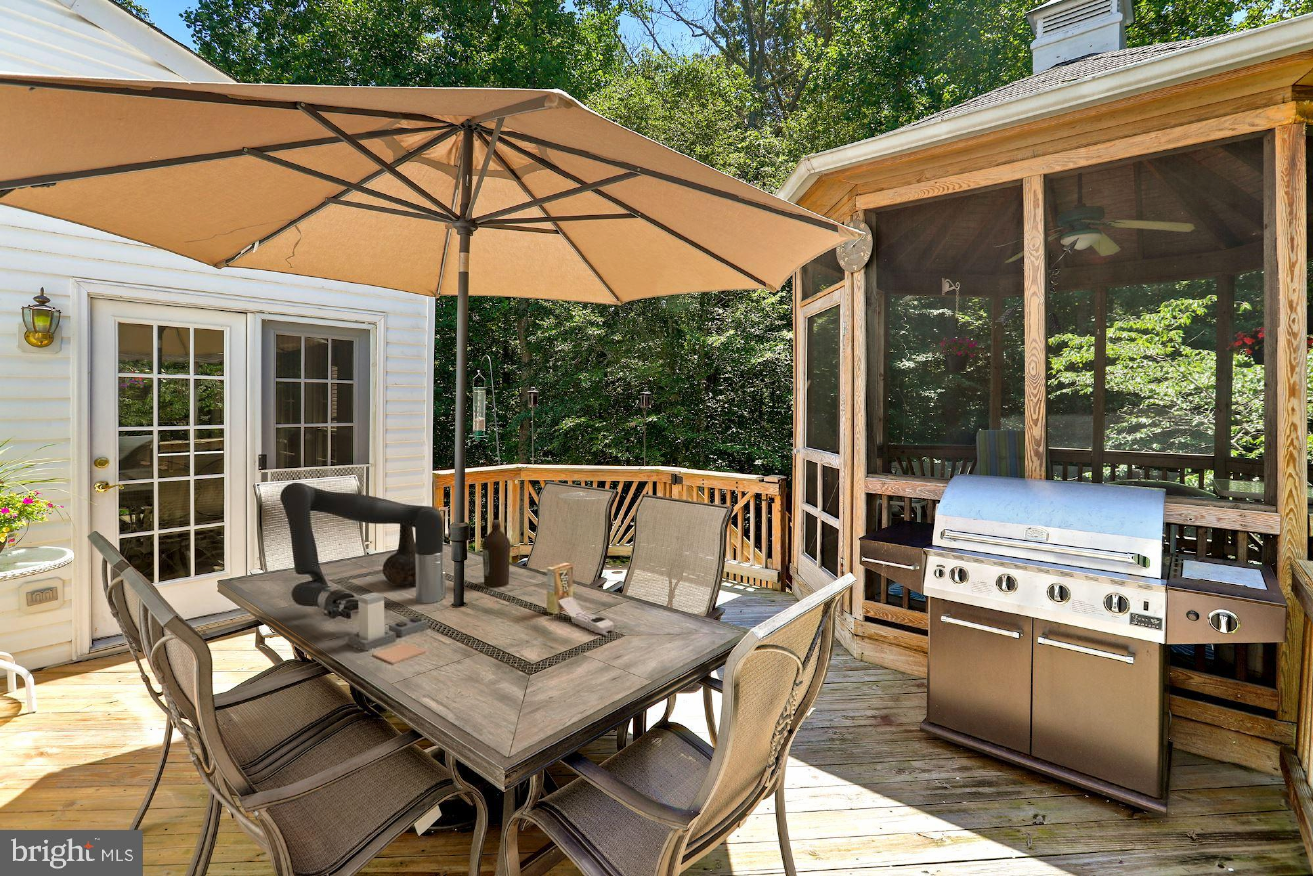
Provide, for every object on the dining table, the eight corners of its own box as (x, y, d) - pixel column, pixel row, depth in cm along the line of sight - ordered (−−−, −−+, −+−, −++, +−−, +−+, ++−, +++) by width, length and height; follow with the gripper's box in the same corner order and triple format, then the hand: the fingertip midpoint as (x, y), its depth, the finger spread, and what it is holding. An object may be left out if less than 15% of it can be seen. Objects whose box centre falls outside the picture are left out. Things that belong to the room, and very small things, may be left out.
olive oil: (506, 578, 250) (506, 517, 248) (513, 585, 240) (513, 522, 239) (479, 582, 245) (479, 519, 243) (485, 589, 235) (485, 524, 234)
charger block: (375, 638, 186) (374, 592, 186) (384, 642, 184) (383, 595, 183) (359, 643, 182) (358, 596, 182) (368, 647, 180) (367, 599, 179)
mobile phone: (571, 595, 210) (619, 614, 192) (571, 613, 211) (619, 632, 193) (556, 600, 206) (603, 619, 188) (557, 617, 207) (604, 638, 189)
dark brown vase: (441, 578, 249) (440, 509, 247) (414, 592, 232) (413, 517, 230) (402, 575, 253) (401, 507, 251) (372, 588, 236) (371, 515, 234)
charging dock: (412, 623, 199) (412, 614, 199) (430, 629, 194) (430, 620, 194) (347, 643, 182) (347, 633, 182) (365, 651, 176) (365, 641, 176)
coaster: (405, 644, 182) (405, 642, 182) (425, 652, 176) (425, 650, 176) (372, 655, 174) (372, 653, 174) (393, 664, 168) (393, 662, 168)
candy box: (564, 605, 218) (564, 562, 217) (573, 607, 216) (573, 564, 215) (546, 612, 211) (546, 567, 210) (555, 614, 208) (555, 569, 208)
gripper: (312, 594, 188) (340, 605, 179) (358, 584, 200) (386, 593, 190) (313, 619, 188) (340, 631, 179) (358, 607, 200) (386, 617, 191)
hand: (364, 611), depth 185 cm, fingers open, 8 cm apart
